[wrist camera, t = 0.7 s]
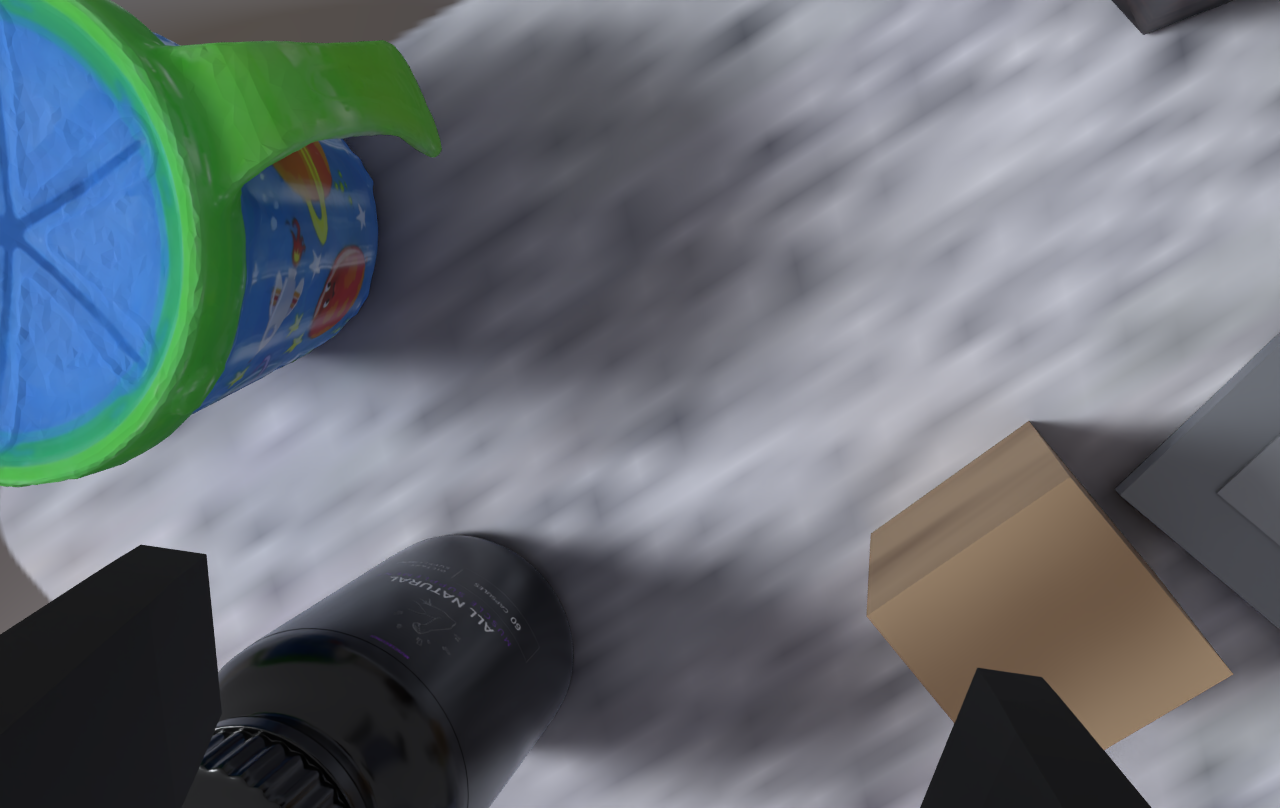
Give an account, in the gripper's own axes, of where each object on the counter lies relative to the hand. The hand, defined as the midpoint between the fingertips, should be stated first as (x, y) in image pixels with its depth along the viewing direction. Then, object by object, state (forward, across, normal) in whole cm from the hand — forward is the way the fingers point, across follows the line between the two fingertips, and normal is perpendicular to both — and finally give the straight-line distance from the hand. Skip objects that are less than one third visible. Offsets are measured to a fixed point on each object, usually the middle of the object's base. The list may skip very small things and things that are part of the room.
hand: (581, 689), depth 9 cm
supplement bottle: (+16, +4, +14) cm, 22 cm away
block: (+15, -10, +8) cm, 20 cm away
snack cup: (+21, +11, +4) cm, 24 cm away
